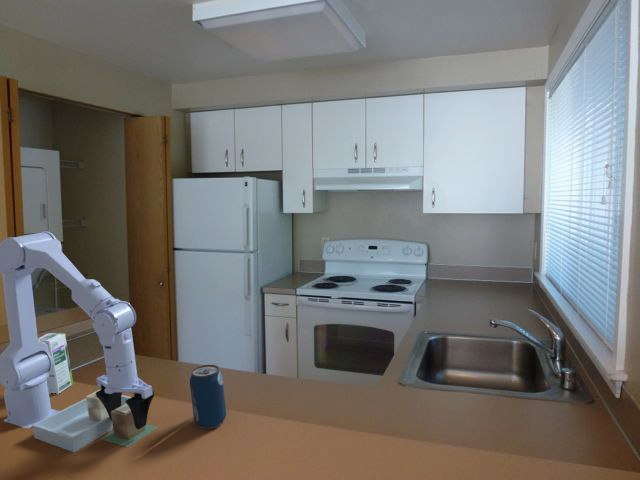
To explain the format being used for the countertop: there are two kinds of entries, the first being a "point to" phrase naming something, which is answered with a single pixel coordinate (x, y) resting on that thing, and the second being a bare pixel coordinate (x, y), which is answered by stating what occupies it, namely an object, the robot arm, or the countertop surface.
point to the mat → (127, 443)
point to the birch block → (96, 408)
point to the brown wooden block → (124, 423)
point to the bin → (73, 427)
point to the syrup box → (58, 362)
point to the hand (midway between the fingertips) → (128, 423)
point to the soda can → (207, 396)
